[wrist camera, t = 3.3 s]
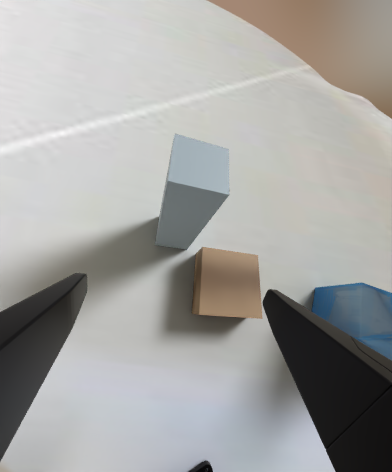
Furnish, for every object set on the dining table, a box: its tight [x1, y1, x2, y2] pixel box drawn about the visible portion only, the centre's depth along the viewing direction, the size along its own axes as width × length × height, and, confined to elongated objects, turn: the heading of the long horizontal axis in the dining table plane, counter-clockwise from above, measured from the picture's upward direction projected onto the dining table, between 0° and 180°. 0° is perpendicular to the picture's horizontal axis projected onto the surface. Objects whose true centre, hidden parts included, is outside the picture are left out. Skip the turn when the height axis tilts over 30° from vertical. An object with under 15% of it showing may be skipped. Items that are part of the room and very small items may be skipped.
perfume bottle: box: [312, 283, 392, 360], centre depth 20 cm, size 6×6×12 cm
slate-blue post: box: [155, 134, 229, 250], centre depth 18 cm, size 4×4×12 cm
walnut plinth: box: [192, 247, 262, 319], centre depth 21 cm, size 7×7×3 cm
